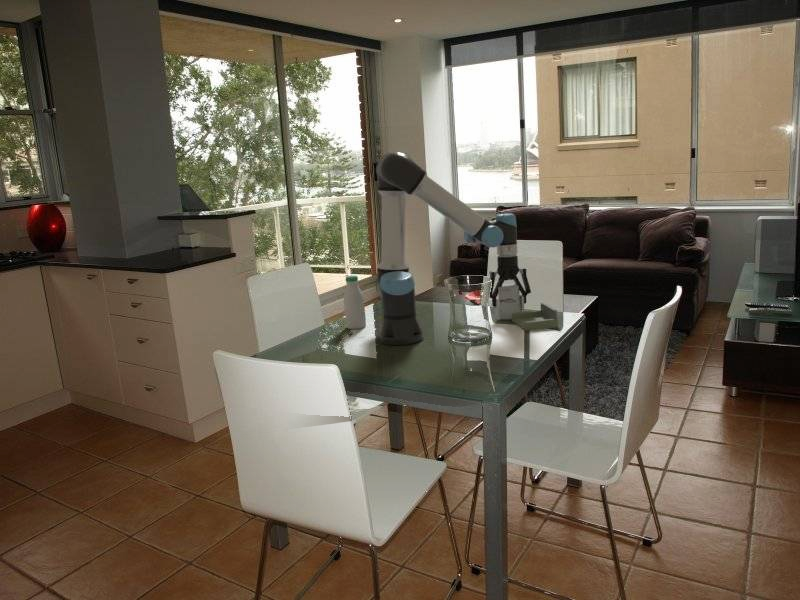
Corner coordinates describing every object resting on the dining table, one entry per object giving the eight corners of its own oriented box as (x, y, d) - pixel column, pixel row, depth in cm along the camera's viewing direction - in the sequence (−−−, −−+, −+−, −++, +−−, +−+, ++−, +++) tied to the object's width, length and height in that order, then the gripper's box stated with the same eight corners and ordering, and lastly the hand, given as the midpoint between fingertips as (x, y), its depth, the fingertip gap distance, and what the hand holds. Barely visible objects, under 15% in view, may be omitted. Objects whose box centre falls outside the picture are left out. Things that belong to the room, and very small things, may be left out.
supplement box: (498, 319, 246) (497, 287, 243) (501, 315, 253) (500, 283, 250) (518, 319, 244) (517, 287, 241) (520, 315, 250) (519, 282, 248)
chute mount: (525, 331, 228) (524, 314, 227) (511, 321, 243) (511, 305, 241) (558, 327, 230) (557, 310, 228) (542, 317, 244) (542, 302, 243)
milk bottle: (365, 328, 248) (360, 277, 244) (345, 330, 248) (340, 279, 244) (366, 323, 256) (362, 273, 251) (347, 325, 256) (342, 275, 252)
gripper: (481, 259, 238) (484, 318, 243) (539, 253, 241) (540, 312, 246) (476, 256, 245) (479, 314, 250) (531, 251, 248) (533, 308, 253)
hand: (509, 313), depth 248 cm, fingers closed on supplement box, 9 cm apart
